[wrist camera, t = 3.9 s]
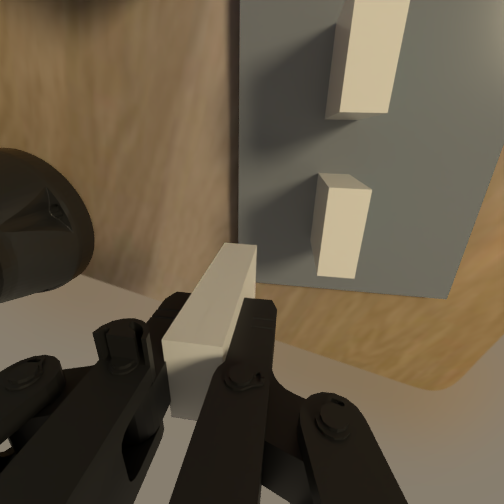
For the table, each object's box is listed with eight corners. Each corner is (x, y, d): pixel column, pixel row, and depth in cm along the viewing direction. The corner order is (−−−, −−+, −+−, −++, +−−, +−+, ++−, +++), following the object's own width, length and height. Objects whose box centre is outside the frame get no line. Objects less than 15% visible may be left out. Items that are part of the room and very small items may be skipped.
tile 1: (359, 120, 21) (390, 113, 14) (324, 119, 21) (339, 112, 15) (376, 21, 18) (421, -39, 12) (336, 22, 19) (359, -36, 12)
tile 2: (339, 242, 25) (356, 278, 18) (310, 239, 25) (316, 275, 19) (351, 174, 22) (375, 189, 16) (318, 173, 23) (329, 187, 16)
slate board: (440, 292, 27) (446, 299, 26) (239, 275, 29) (237, 280, 28) (555, -33, 17) (572, -45, 16) (243, -22, 19) (240, -32, 18)
